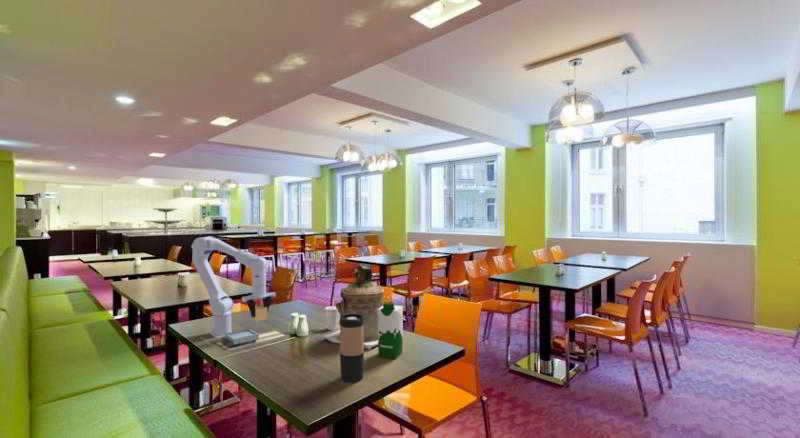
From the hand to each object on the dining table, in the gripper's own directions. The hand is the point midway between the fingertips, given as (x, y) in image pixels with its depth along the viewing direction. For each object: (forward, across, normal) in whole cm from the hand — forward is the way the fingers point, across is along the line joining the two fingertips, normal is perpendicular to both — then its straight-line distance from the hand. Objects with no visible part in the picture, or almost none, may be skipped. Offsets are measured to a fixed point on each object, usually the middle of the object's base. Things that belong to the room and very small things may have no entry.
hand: (259, 315), depth 173 cm
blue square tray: (+8, -10, -6) cm, 14 cm away
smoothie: (+8, +28, -15) cm, 33 cm away
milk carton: (+8, +25, -58) cm, 64 cm away
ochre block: (+2, 0, 0) cm, 2 cm away
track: (+8, -6, -6) cm, 12 cm away
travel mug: (+8, +2, -65) cm, 66 cm away
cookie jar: (+9, +30, -35) cm, 47 cm away
